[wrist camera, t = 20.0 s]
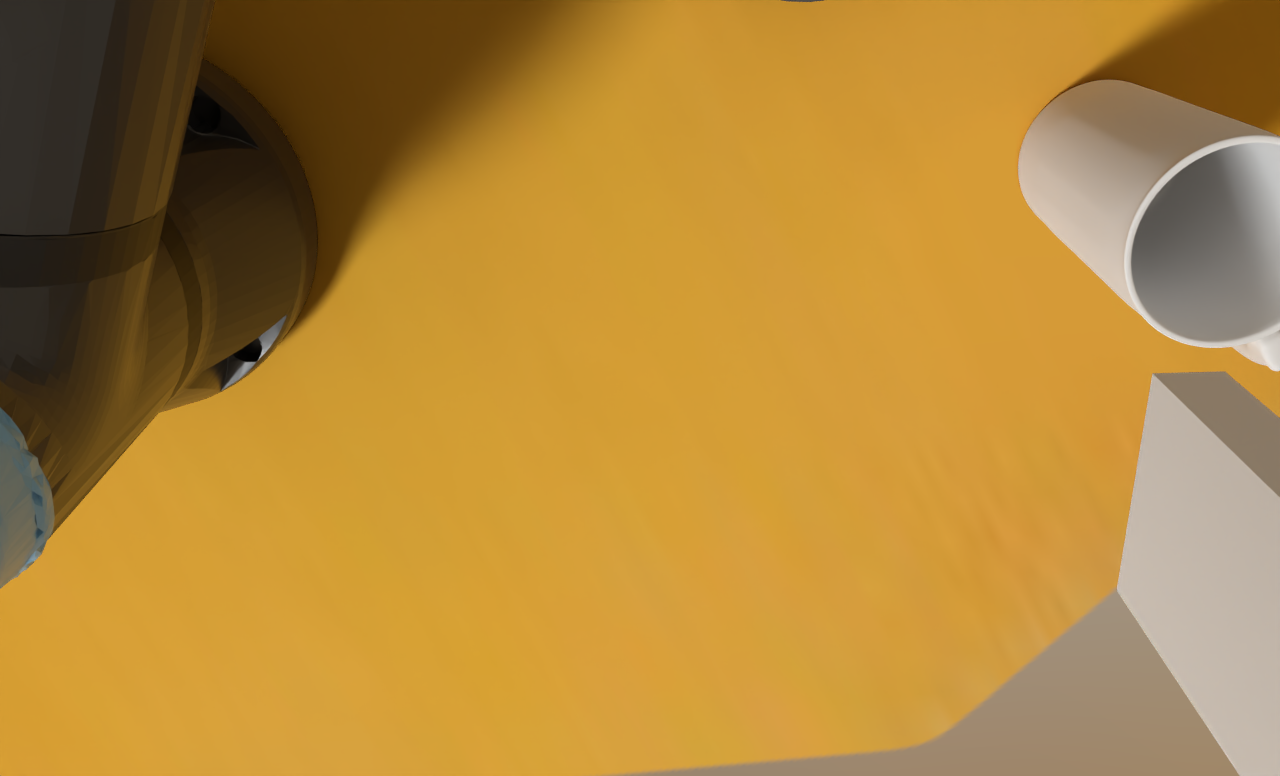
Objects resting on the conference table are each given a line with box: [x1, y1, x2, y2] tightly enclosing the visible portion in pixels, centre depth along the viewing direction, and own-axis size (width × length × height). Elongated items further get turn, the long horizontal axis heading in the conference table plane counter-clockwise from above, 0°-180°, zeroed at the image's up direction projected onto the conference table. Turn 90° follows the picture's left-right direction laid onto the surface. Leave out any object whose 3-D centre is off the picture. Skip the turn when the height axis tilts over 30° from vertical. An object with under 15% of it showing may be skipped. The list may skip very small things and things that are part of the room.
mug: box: [1018, 80, 1280, 371], centre depth 41 cm, size 10×7×12 cm, turn 35°
